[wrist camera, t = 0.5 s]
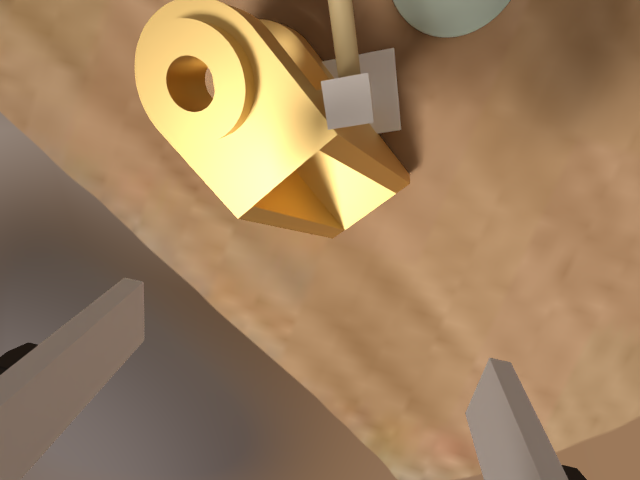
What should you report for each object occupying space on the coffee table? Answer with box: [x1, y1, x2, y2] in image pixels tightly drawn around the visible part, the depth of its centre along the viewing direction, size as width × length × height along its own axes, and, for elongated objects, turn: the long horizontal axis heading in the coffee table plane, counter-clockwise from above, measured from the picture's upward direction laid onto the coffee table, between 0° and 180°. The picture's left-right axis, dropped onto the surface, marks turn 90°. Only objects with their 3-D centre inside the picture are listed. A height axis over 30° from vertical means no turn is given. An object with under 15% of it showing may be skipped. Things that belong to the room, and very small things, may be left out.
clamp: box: [135, 0, 410, 238], centre depth 31 cm, size 20×9×16 cm, turn 40°
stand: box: [321, 0, 401, 134], centre depth 26 cm, size 20×7×18 cm, turn 9°
